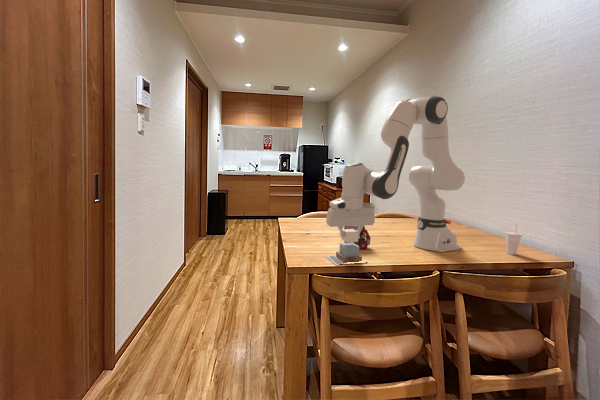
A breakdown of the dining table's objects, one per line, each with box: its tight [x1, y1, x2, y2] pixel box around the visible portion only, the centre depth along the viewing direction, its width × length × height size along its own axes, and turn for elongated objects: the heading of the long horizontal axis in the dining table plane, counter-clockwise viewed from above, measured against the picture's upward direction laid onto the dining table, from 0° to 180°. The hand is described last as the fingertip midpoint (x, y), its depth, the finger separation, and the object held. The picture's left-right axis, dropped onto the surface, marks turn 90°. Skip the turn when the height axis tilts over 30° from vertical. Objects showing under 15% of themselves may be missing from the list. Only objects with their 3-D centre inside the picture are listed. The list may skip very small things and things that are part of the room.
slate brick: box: [339, 242, 360, 257], centre depth 132 cm, size 6×6×4 cm
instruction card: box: [325, 254, 344, 265], centre depth 133 cm, size 14×11×1 cm
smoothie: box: [505, 224, 523, 256], centre depth 147 cm, size 6×6×14 cm
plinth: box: [335, 251, 363, 263], centre depth 133 cm, size 8×8×2 cm
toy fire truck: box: [343, 226, 371, 251], centre depth 149 cm, size 7×12×10 cm, turn 90°
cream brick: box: [340, 229, 359, 242], centre depth 131 cm, size 5×5×4 cm
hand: (349, 236), depth 131 cm, fingers closed on cream brick, 5 cm apart
